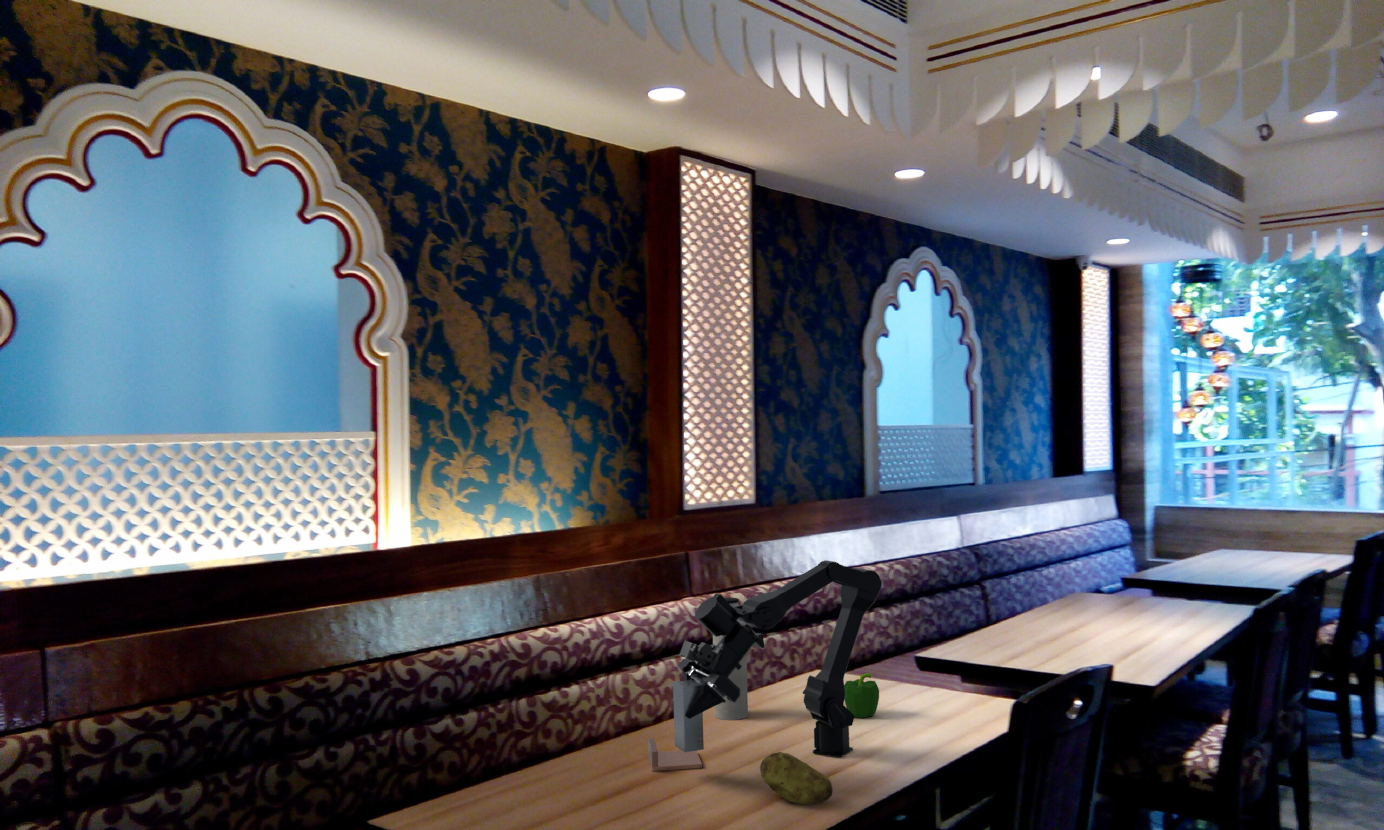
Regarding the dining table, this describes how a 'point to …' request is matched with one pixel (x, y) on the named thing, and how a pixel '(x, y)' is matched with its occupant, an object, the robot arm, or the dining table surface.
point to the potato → (795, 779)
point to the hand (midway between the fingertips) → (681, 713)
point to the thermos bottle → (739, 679)
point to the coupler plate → (672, 758)
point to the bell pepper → (861, 696)
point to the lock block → (684, 728)
